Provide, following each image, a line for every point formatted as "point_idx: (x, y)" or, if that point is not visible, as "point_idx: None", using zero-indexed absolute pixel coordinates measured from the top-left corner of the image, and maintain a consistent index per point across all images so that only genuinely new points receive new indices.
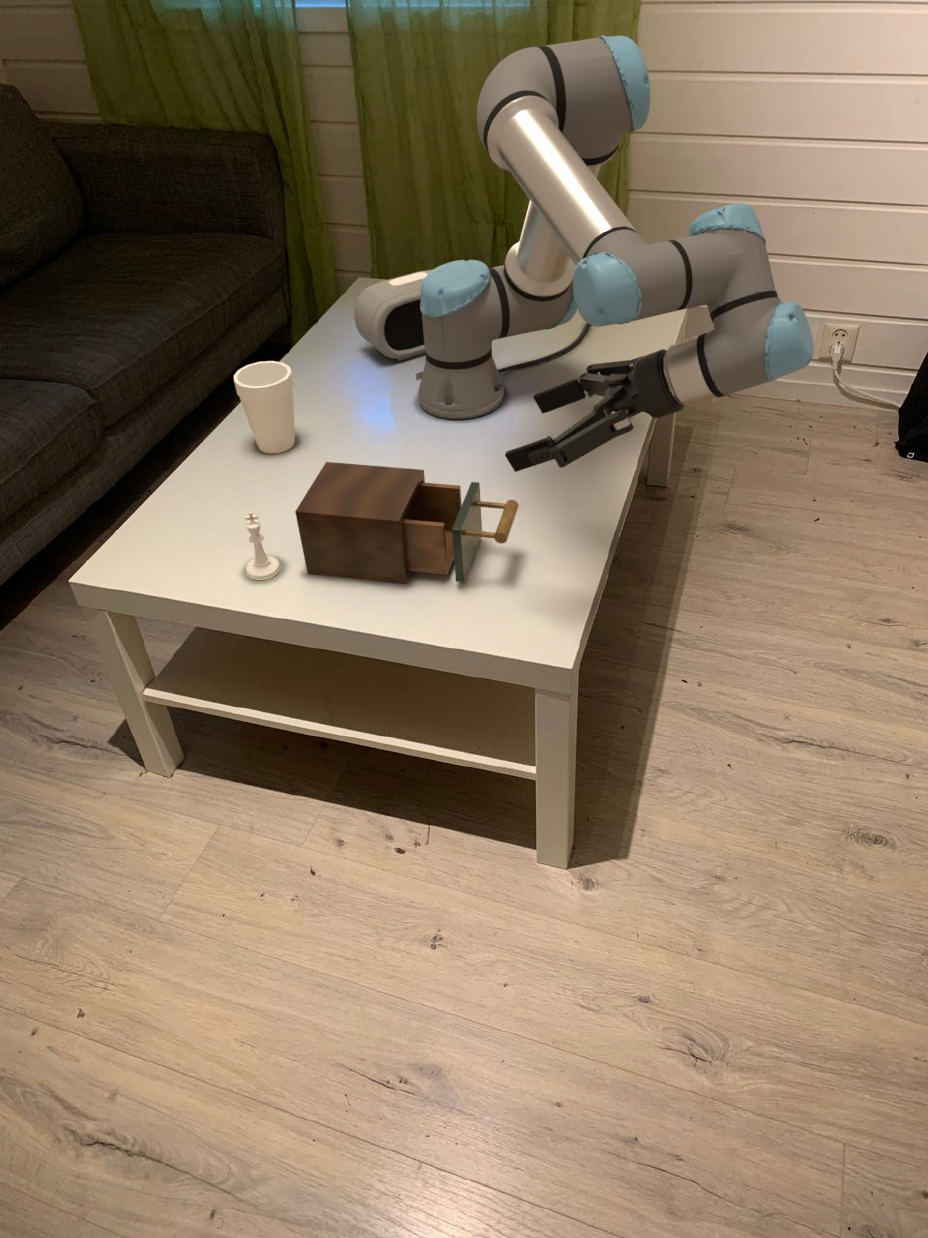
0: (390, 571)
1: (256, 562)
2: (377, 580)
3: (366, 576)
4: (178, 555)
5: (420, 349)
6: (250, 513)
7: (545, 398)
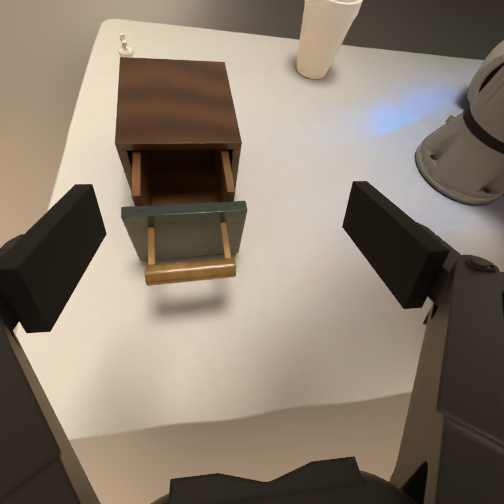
0: None
1: None
2: None
3: None
4: (144, 53)
5: None
6: (120, 34)
7: (361, 207)
